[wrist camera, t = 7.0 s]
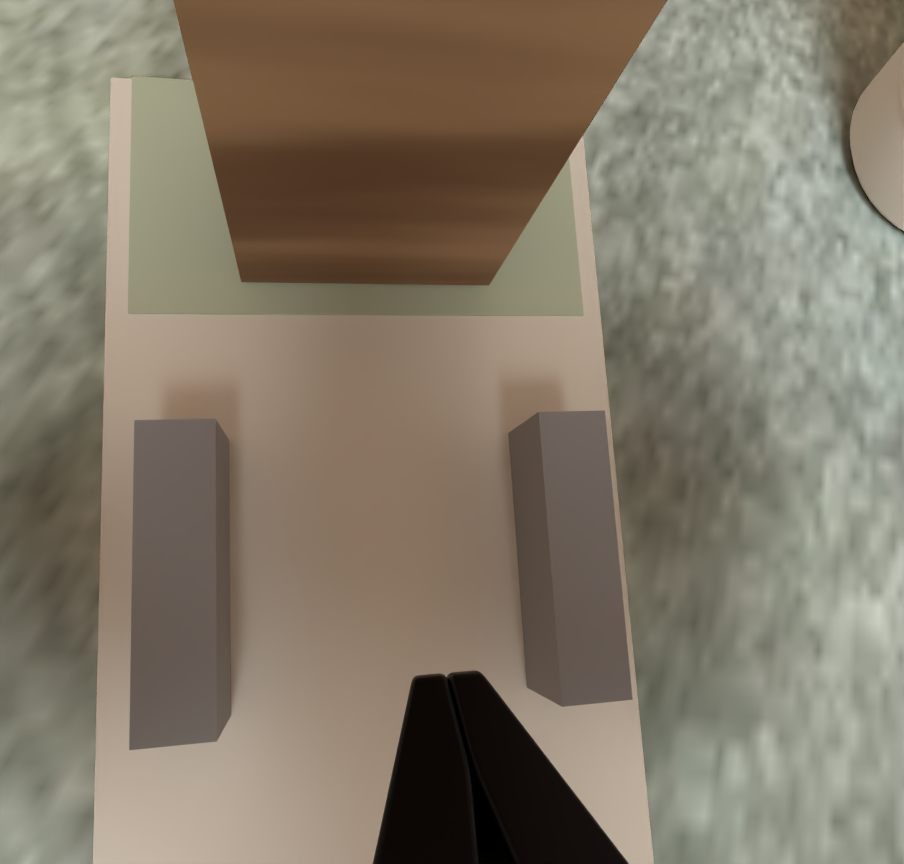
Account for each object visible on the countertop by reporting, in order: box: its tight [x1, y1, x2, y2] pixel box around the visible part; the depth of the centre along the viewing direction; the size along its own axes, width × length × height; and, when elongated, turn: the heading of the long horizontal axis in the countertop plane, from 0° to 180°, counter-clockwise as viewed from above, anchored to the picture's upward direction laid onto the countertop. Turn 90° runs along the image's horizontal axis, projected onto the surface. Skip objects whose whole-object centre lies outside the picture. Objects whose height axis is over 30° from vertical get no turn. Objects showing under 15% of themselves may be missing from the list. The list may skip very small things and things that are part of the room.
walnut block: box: [174, 0, 667, 285], centre depth 12 cm, size 4×6×13 cm
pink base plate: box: [93, 76, 654, 864], centre depth 16 cm, size 24×12×4 cm, turn 4°
